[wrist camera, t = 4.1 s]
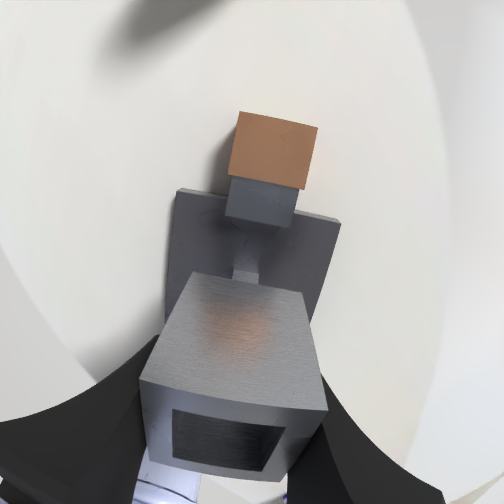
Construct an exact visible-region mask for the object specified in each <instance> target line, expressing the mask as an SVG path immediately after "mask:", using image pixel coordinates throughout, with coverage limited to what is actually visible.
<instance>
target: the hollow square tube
mask: <svg viewBox="0 0 504 504" xmlns="http://www.w3.org/2000/svg"><path fill="white" fill-rule="evenodd" d="M139 386H140V397H141V406H142V414H143V422H144V430H145V436H146V443H147V449H148V455H149V461H152V462H156V463H159V464H163V465H167V466H171V467H175V468H180V469H184V470H189V471H193V472H198V473H204V474H209V475H215V476H222V477H229V478H236V479H245V480H255V481H268V482H280V481H281V480H282V479H283V477H284V476H285V475H286V473H287V472H288V471H289V469H290V468H291V467H292V465H293V464H294V462H295V461H296V460H297V458H298V457H299V455H300V454H301V452H302V451H303V449H304V448H305V446H306V445H307V443H308V442H309V440H310V439H311V437H312V436H313V434H314V433H315V431H316V430H317V428H318V427H319V425H320V423H321V422H322V420H323V418H324V417H325V415H326V414H327V412H328V407H327V402H326V397H325V392H324V387H323V382H322V378H321V373H320V368H319V364H318V359H317V355H316V350H315V346H314V341H313V337H312V333H311V328H310V324H309V320H308V316H307V311H306V307H305V303H304V299H303V295H302V292H296V291H290V290H285V289H279V288H274V287H268V286H263V285H258V284H252V283H247V282H242V281H237V280H232V279H227V278H222V277H217V276H212V275H207V274H202V273H197V272H192V274H191V276H190V278H189V280H188V282H187V284H186V286H185V287H184V289H183V291H182V293H181V295H180V297H179V299H178V301H177V303H176V305H175V307H174V309H173V311H172V313H171V314H170V316H169V318H168V320H167V322H166V324H165V326H164V328H163V330H162V332H161V334H160V336H159V338H158V340H157V342H156V344H155V346H154V348H153V350H152V353H151V355H150V357H149V359H148V361H147V363H146V365H145V367H144V369H143V371H142V373H141V375H140V377H139Z"/></svg>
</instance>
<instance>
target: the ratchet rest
mask: <svg viewBox="0 0 504 504" xmlns="http://www.w3.org/2000/svg"><path fill="white" fill-rule="evenodd" d="M317 130H318V128H317V127H313V126H309V125H305V124H300V123H296V122H292V121H287V120H283V119H278V118H273V117H268V116H263V115H258V114H252V113H247V112H241V111H240V112H239V117H238V122H237V127H236V132H235V137H234V142H233V147H232V152H231V158H230V163H229V168H228V175H232V178H231V183H230V189H229V194H228V196H224V195H218V194H213V193H207V192H201V191H196V190H190V189H184V188H181V189H179V190H177V192H176V200H175V208H174V216H173V225H172V234H171V244H170V254H169V266H168V278H167V293H166V310H165V324H166V322H167V320H168V318H169V316H170V314H171V313H172V311H173V309H174V307H175V305H176V303H177V301H178V299H179V297H180V295H181V293H182V291H183V289H184V287H185V286H186V284H187V282H188V280H189V278H190V276H191V274H192V272H197V273H202V274H207V275H212V276H217V277H222V278H227V279H232V280H237V281H242V282H247V283H252V284H258V285H263V286H268V287H274V288H279V289H285V290H290V291H296V292H302V295H303V299H304V303H305V307H306V311H307V316H308V320H309V324H310V322H311V319H312V316H313V313H314V310H315V307H316V304H317V301H318V298H319V295H320V292H321V289H322V286H323V283H324V280H325V277H326V274H327V271H328V267H329V264H330V261H331V258H332V254H333V251H334V247H335V244H336V241H337V237H338V234H339V230H340V227H341V223H340V222H339V221H338V220H337V219H334V218H330V217H325V216H321V215H316V214H312V213H308V212H303V211H299V210H295V206H296V201H297V197H298V193H299V189H302V190H304V188H305V184H306V180H307V175H308V171H309V167H310V162H311V158H312V153H313V148H314V144H315V139H316V134H317Z"/></svg>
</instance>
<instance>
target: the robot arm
mask: <svg viewBox="0 0 504 504" xmlns="http://www.w3.org/2000/svg"><path fill="white" fill-rule="evenodd" d="M159 336H160V335H159V334H158V335H156V336H154V337H153V338H152V339H151V340H150V341H149V342H148V343H147V344H146V345H145V346H144V347H143V348H142V349H141V350H140V351H138V352H137V353H136V354H135V355H134V356H133V357H132V358H130V359H129V360H128V361H127V362H126V363H124V364H123V365H122V366H121V367H119V368H118V369H117V370H116V371H114V372H113V373H111V374H110V375H109V376H107V377H106V378H105V379H103V380H102V381H100V382H99V383H97V384H96V385H94V386H93V387H91V388H90V389H88V390H86V391H85V392H83V393H81V394H79V395H77V396H75V397H73V398H71V399H70V400H67V401H65V402H63V403H61V404H59V405H57V406H55V407H52V408H49V409H46V410H44V411H41V412H38V413H36V414H33V415H29V416H26V417H23V418H18V419H13V420H9V421H4V422H0V476H1V477H2V478H3V480H2V482H1V484H0V504H197V498H198V493H199V486H200V481H201V475H202V473H198V472H193V471H189V470H184V469H180V468H175V467H171V466H167V465H163V464H159V463H156V462H152V461H149V455H148V449H147V443H146V436H145V430H144V422H143V414H142V406H141V397H140V386H139V377H140V375H141V373H142V371H143V369H144V367H145V365H146V363H147V361H148V359H149V357H150V355H151V353H152V350H153V348H154V346H155V344H156V342H157V340H158V338H159ZM321 378H322V382H323V387H324V392H325V397H326V402H327V407H328V412H327V414H326V415H325V417H324V418H323V420H322V422H321V423H320V425H319V427H318V428H317V430H316V431H315V433H314V434H313V436H312V437H311V439H310V440H309V442H308V443H307V445H306V446H305V448H304V449H303V451H302V452H301V454H300V455H299V457H298V458H297V460H296V461H295V462H294V464H293V465H292V467H291V468H290V469H289V471H288V472H287V475H288V483H287V504H446V503H445V500H444V497H443V494H442V492H441V491H440V490H438V489H436V488H435V487H433V486H431V485H429V484H427V483H425V482H423V481H421V480H420V479H418V478H416V477H415V476H413V475H412V474H410V473H409V472H407V471H406V470H404V469H403V468H402V467H400V466H399V465H398V464H396V463H395V462H394V461H393V460H392V459H390V458H389V457H388V456H387V455H386V454H384V453H383V452H382V451H381V450H380V449H379V448H378V447H377V446H376V445H375V444H374V443H373V442H372V441H371V440H370V439H369V438H368V437H367V436H366V435H365V434H364V433H363V432H362V431H361V429H360V428H359V427H358V426H357V425H356V423H355V422H354V421H353V420H352V418H351V417H350V416H349V415H348V413H347V412H346V410H345V409H344V408H343V406H342V405H341V403H340V402H339V400H338V399H337V398H336V396H335V395H334V393H333V392H332V390H331V388H330V387H329V385H328V384H327V382H326V381H325V379H324V377H323V376H322V374H321Z"/></svg>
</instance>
